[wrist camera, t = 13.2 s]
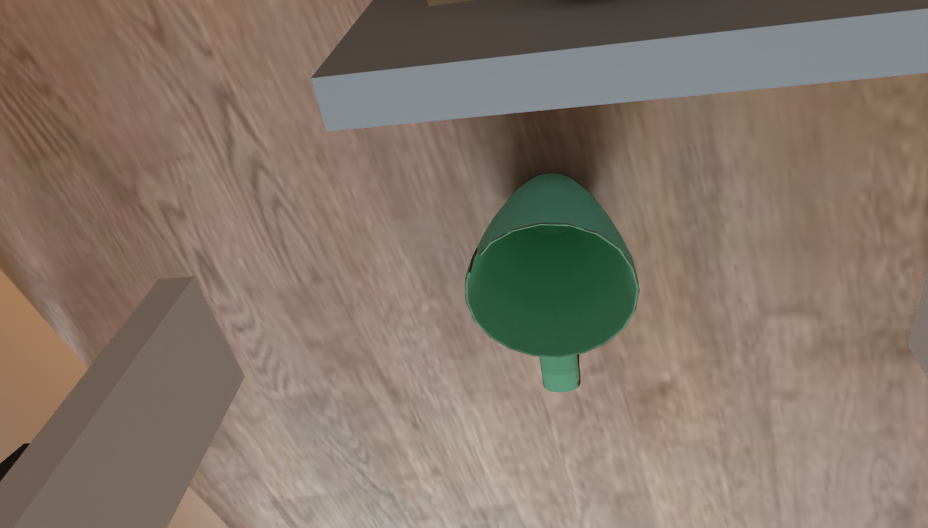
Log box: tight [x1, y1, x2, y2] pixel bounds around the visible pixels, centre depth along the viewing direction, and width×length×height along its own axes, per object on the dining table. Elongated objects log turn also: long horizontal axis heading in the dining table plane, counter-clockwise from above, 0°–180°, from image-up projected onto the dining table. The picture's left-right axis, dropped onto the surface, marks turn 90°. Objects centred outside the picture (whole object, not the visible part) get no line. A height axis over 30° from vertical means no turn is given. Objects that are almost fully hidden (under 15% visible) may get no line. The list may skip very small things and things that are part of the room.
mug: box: [465, 173, 639, 392], centre depth 43 cm, size 15×10×10 cm
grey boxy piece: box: [311, 0, 928, 132], centre depth 30 cm, size 11×24×18 cm, turn 99°
